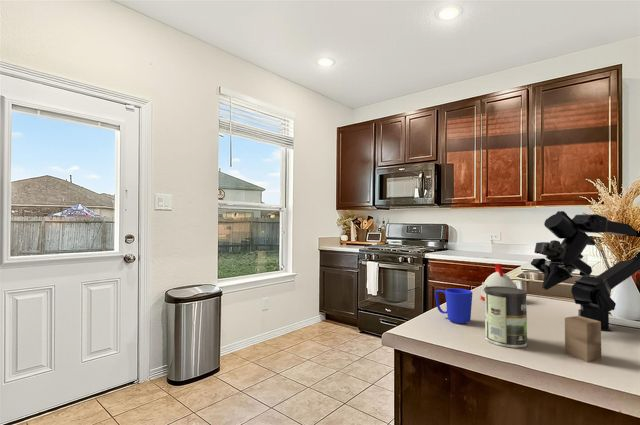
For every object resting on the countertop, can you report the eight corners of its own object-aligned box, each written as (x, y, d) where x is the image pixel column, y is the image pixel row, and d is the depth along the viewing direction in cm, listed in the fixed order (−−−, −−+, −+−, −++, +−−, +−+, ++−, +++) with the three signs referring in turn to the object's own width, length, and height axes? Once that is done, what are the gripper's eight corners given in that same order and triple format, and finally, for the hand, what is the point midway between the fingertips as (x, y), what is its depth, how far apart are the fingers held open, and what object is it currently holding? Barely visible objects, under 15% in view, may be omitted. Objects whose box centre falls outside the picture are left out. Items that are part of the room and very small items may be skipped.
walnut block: (579, 351, 83) (578, 315, 84) (601, 359, 79) (600, 321, 79) (565, 353, 82) (564, 317, 82) (587, 362, 77) (586, 323, 77)
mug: (441, 313, 116) (441, 285, 116) (476, 321, 108) (476, 290, 108) (430, 318, 111) (430, 289, 111) (466, 327, 102) (466, 294, 102)
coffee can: (527, 338, 92) (526, 288, 93) (528, 351, 83) (527, 295, 84) (486, 332, 98) (485, 284, 98) (483, 343, 89) (482, 291, 89)
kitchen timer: (512, 297, 141) (511, 262, 141) (524, 305, 127) (523, 267, 128) (477, 295, 144) (476, 261, 144) (485, 303, 130) (485, 266, 131)
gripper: (529, 234, 111) (504, 271, 109) (571, 228, 93) (541, 273, 91) (558, 255, 110) (533, 292, 108) (605, 253, 92) (576, 298, 90)
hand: (544, 288), depth 99 cm, fingers closed
